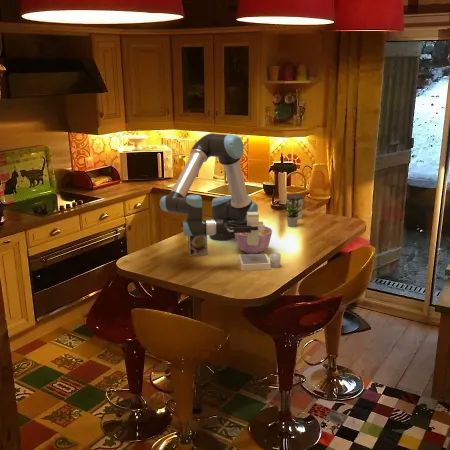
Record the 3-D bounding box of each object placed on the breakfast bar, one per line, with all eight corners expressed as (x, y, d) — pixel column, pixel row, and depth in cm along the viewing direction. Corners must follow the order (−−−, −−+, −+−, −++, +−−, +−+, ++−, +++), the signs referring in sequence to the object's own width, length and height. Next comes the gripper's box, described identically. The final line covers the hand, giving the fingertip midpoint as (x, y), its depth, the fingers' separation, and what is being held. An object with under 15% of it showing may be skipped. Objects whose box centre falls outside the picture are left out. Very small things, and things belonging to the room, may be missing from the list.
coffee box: (190, 256, 275) (189, 226, 270) (188, 252, 281) (187, 223, 276) (207, 255, 277) (207, 225, 273) (204, 251, 283) (204, 221, 279)
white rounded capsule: (269, 264, 264) (269, 252, 262) (279, 264, 264) (279, 252, 262) (270, 268, 259) (271, 256, 257) (281, 267, 259) (281, 256, 257)
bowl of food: (262, 243, 295) (262, 223, 291) (278, 254, 277) (279, 233, 273) (228, 247, 288) (228, 227, 284) (242, 259, 270) (242, 238, 267)
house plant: (304, 230, 317) (305, 203, 312) (280, 229, 319) (281, 203, 314) (304, 223, 330) (305, 198, 326) (282, 222, 332) (282, 197, 328)
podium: (238, 260, 269) (238, 254, 268) (266, 259, 270) (266, 253, 269) (241, 270, 256) (241, 263, 255) (270, 269, 257) (270, 262, 256)
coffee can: (290, 220, 338) (291, 198, 334) (283, 216, 347) (284, 195, 343) (305, 218, 341) (306, 197, 337) (298, 214, 350) (299, 193, 346)
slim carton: (246, 241, 262) (246, 212, 257) (257, 241, 262) (257, 211, 258) (248, 245, 257) (248, 214, 253) (258, 244, 257) (258, 214, 253)
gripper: (214, 229, 266) (261, 227, 267) (216, 240, 248) (266, 239, 250) (214, 214, 263) (261, 213, 265) (216, 225, 246) (266, 223, 248)
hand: (263, 225), depth 257 cm, fingers closed on slim carton, 5 cm apart
